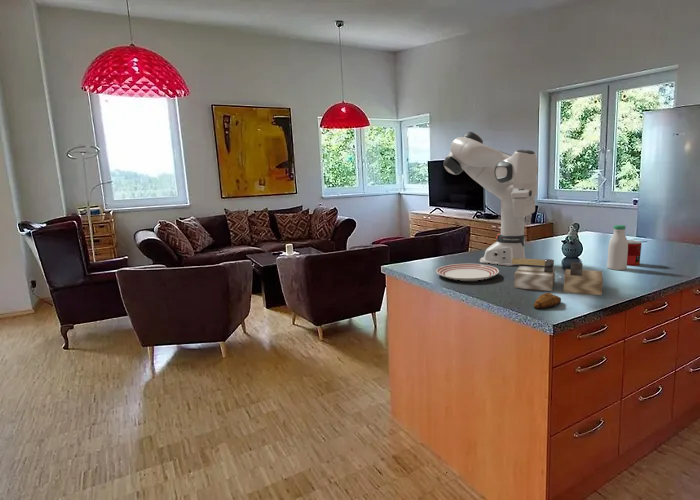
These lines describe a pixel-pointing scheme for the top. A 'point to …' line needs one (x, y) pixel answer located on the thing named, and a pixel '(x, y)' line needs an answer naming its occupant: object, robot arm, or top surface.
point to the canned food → (633, 253)
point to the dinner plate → (467, 272)
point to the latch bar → (533, 262)
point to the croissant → (546, 301)
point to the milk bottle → (618, 249)
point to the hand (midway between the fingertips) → (524, 226)
